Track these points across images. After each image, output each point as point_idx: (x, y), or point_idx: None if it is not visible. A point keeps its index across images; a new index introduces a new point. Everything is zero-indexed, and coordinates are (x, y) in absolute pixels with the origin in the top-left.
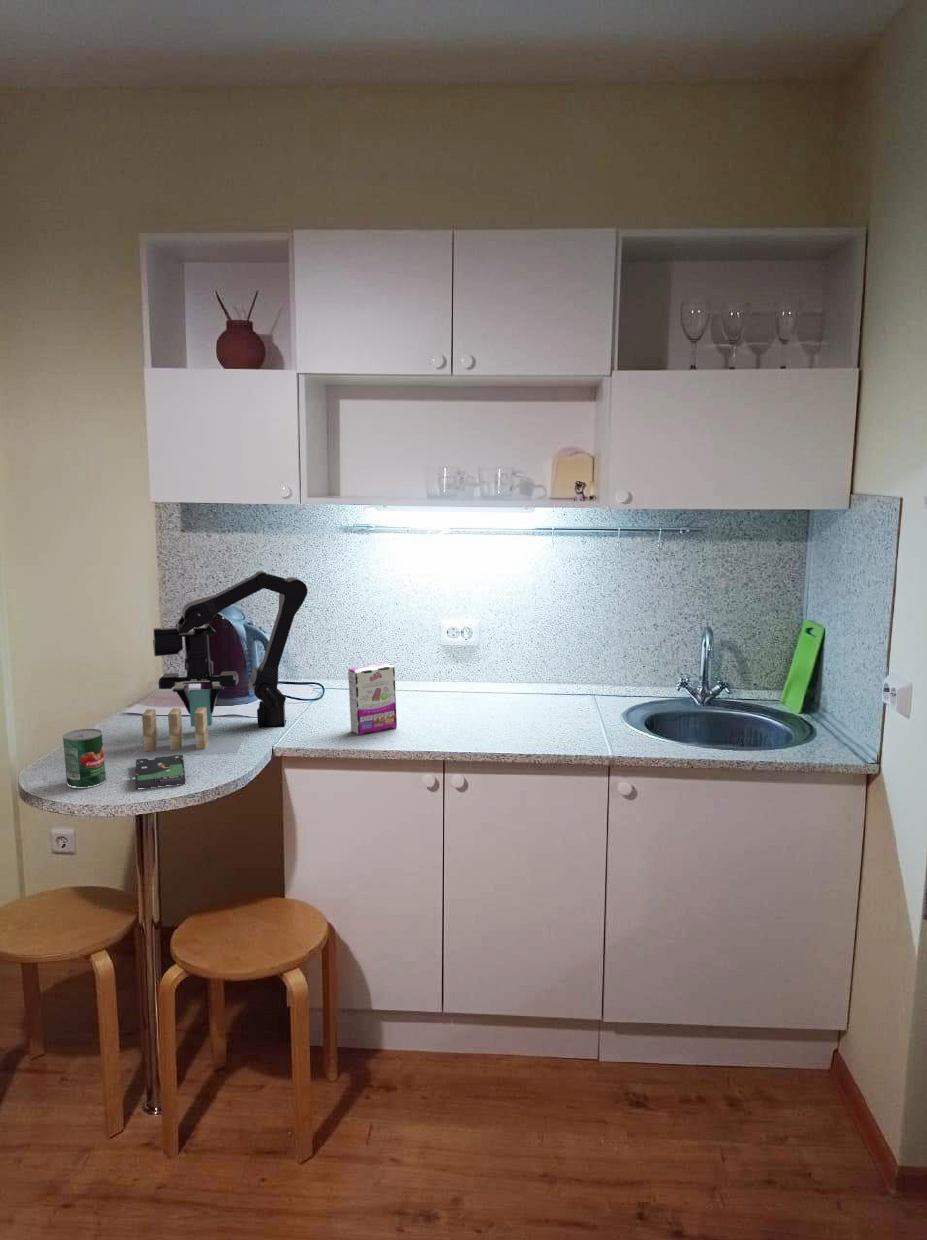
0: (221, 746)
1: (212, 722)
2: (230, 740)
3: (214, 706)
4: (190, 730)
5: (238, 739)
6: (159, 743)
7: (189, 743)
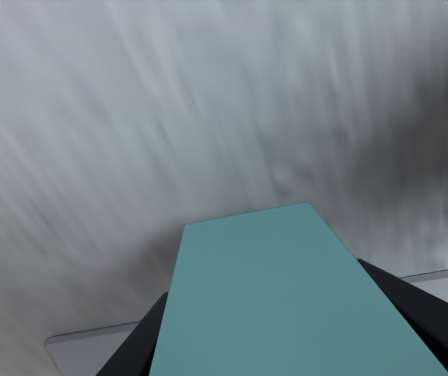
0: None
1: (311, 205)
2: None
3: (404, 282)
4: (151, 149)
5: (443, 299)
6: None
7: None
